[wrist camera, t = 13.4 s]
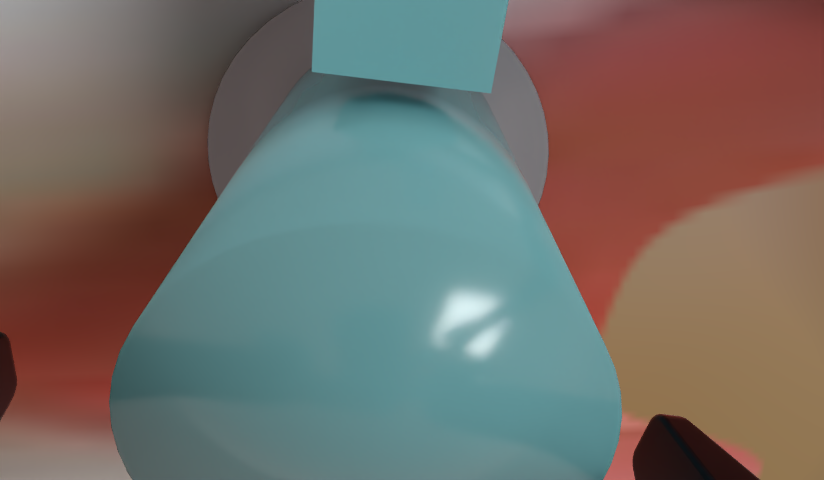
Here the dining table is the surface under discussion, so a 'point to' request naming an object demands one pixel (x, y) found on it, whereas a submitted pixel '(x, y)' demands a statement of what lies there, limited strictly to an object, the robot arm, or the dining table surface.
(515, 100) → the coaster
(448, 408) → the jug
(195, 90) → the dining table surface
